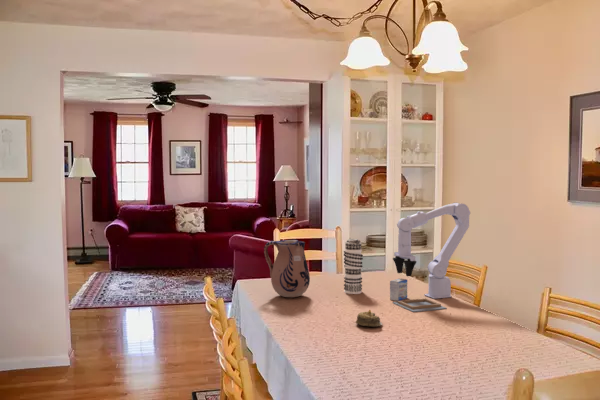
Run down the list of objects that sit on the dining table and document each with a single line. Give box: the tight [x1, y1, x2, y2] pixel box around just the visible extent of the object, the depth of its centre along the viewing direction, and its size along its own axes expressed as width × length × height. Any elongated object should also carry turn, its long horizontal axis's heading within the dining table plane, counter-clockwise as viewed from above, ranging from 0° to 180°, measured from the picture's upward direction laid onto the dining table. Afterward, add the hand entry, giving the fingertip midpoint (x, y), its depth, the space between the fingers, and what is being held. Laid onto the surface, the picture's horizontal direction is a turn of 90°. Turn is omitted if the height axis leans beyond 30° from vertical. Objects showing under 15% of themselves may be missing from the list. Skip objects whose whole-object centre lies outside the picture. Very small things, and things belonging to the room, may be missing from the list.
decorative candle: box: [343, 238, 364, 295], centre depth 245 cm, size 9×9×25 cm
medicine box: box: [389, 278, 408, 302], centre depth 231 cm, size 8×4×9 cm, turn 138°
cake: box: [355, 309, 383, 327], centre depth 192 cm, size 10×10×5 cm
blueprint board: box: [392, 298, 448, 313], centre depth 219 cm, size 16×16×2 cm
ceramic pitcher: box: [263, 239, 311, 298], centre depth 237 cm, size 18×21×25 cm
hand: (404, 274), depth 234 cm, fingers open, 7 cm apart
